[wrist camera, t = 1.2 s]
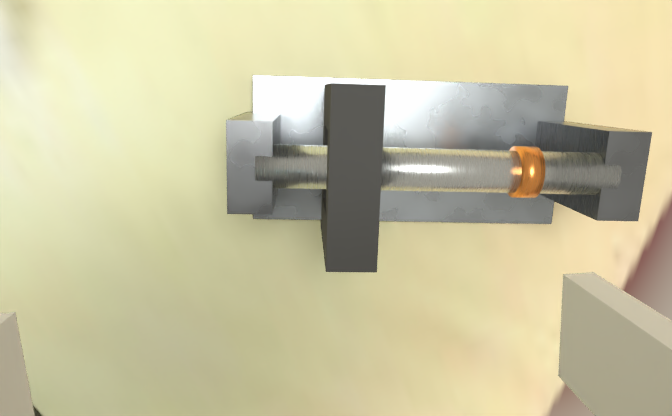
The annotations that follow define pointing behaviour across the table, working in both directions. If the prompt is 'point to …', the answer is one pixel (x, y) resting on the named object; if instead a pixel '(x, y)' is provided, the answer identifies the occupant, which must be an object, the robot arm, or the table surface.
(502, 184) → the pipe rig
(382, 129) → the ring
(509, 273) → the table surface
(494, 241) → the table surface
